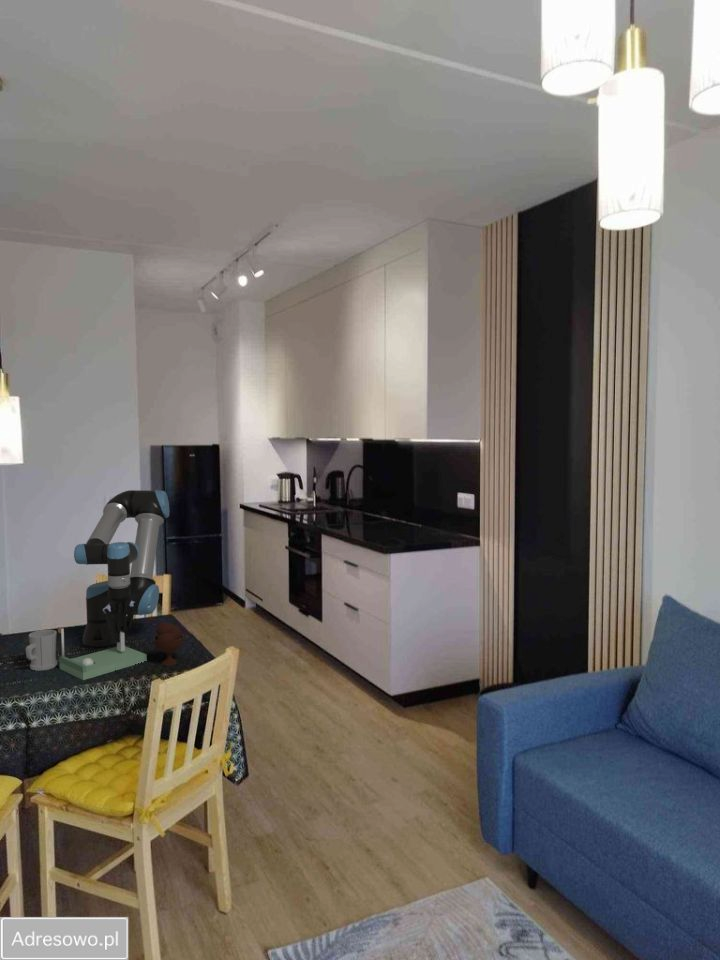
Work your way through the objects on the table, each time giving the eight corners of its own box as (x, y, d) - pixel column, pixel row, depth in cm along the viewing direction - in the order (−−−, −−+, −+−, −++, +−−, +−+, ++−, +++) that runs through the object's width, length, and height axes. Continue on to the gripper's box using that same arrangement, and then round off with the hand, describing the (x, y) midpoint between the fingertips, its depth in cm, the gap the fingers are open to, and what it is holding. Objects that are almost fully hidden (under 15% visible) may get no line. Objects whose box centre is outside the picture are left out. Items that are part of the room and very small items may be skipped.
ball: (77, 667, 232) (81, 656, 233) (88, 668, 235) (91, 657, 236) (83, 670, 230) (86, 659, 230) (93, 671, 233) (97, 660, 233)
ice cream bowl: (168, 670, 233) (168, 628, 232) (146, 664, 239) (146, 623, 238) (191, 661, 242) (190, 620, 241) (169, 656, 248) (169, 616, 247)
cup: (54, 671, 232) (53, 637, 231) (25, 674, 229) (24, 639, 228) (59, 661, 242) (58, 628, 241) (31, 663, 239) (30, 630, 238)
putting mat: (57, 668, 235) (56, 627, 234) (120, 650, 253) (119, 613, 252) (83, 680, 224) (82, 637, 223) (146, 661, 242) (145, 621, 241)
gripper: (107, 591, 234) (109, 657, 236) (141, 584, 244) (142, 647, 246) (96, 587, 239) (98, 652, 241) (130, 581, 249) (131, 643, 251)
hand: (120, 650), depth 243 cm, fingers closed
